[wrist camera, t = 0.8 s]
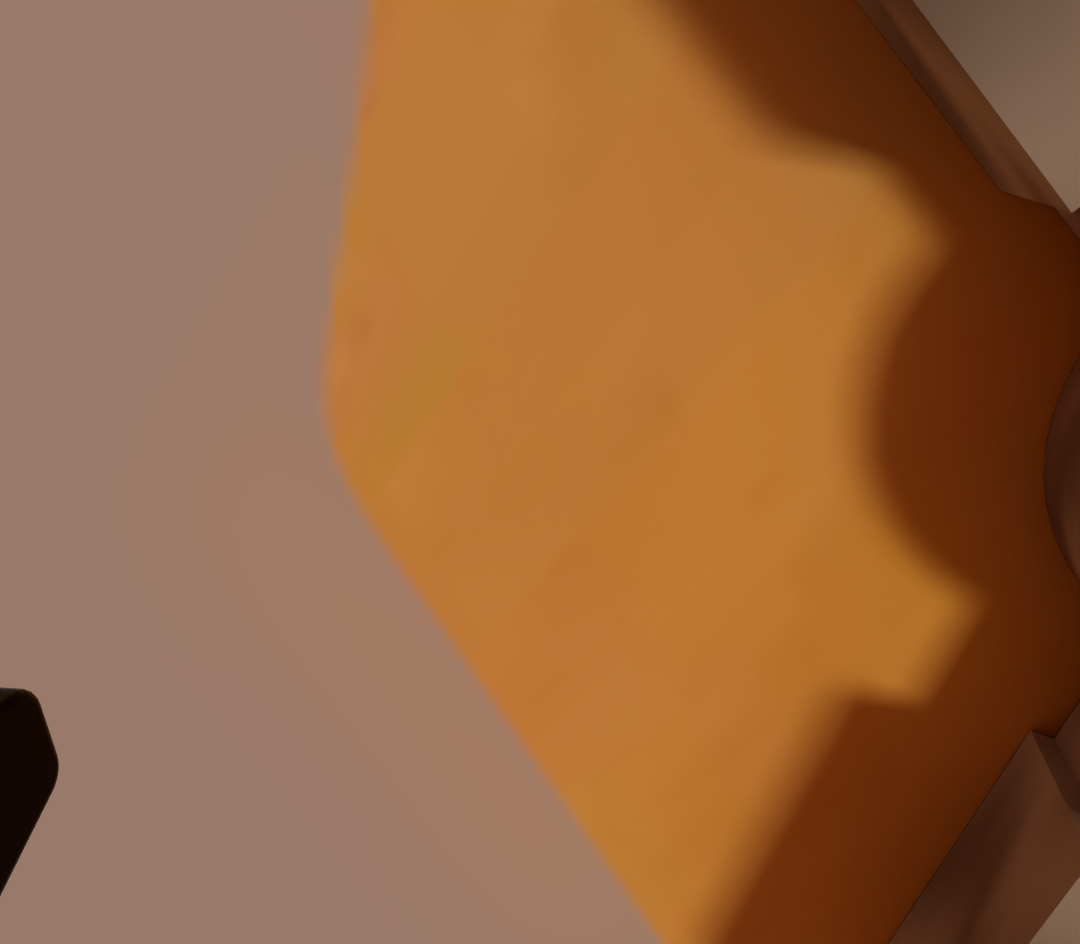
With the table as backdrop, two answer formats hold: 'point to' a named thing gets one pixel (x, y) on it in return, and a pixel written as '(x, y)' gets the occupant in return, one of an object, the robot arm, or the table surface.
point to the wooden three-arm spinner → (1071, 451)
